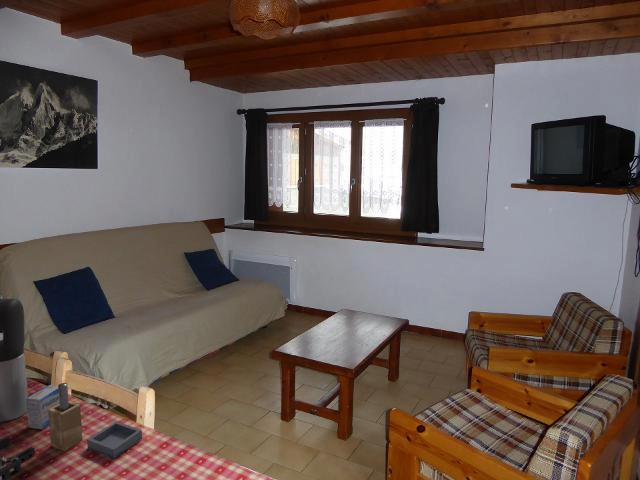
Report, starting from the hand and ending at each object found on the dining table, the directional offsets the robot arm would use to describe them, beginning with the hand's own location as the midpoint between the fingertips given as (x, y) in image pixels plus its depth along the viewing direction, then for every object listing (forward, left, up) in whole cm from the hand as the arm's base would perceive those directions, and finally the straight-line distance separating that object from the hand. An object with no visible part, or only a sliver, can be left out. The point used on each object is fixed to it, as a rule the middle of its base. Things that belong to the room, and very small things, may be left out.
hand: (21, 445), depth 104 cm
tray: (+1, +20, -6) cm, 21 cm away
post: (-6, +10, -6) cm, 13 cm away
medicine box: (-20, +7, -6) cm, 22 cm away
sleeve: (-6, +10, -6) cm, 13 cm away
